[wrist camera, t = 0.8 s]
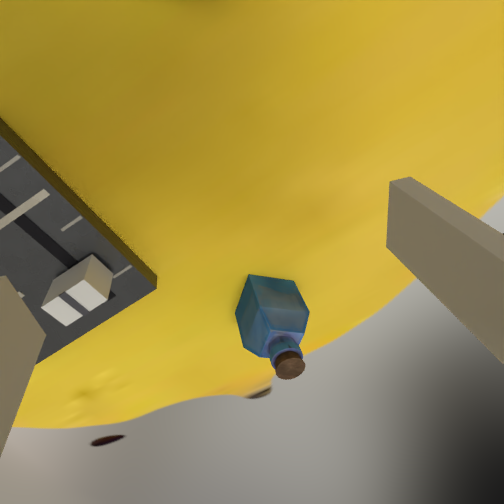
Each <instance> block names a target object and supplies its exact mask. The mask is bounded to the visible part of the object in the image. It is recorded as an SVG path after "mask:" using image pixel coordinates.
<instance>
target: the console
mask: <svg viewBox="0 0 504 504" xmlns="http://www.w3.org/2000/svg"><path fill="white" fill-rule="evenodd" d="M92 254H93V255H94V256H95V257H96V258H97V259H98V260H99V261H100V262H101V263H102V264H103V265H104V266H106V267H107V268H108V269H109V270H110V271H111V272H112V273H113V277H112V282H111V287H110V292H109V296H108V300H107V301H105V302H104V303H102V304H101V305H99V306H97V307H96V308H94V309H93V310H91V311H90V313H89V314H87V315H86V316H82V317H80V318H79V319H77V320H75V321H74V322H72V323H71V324H69V325H68V326H65V325H63V324H62V323H61V322H59V321H58V320H57V319H55V318H54V317H53V316H51V315H50V314H49V313H47V312H46V311H45V310H43V309H42V308H41V306H42V304H43V301H44V299H45V297H46V295H47V293H48V290H49V288H50V286H51V284H52V281H53V280H54V279H55V278H57V277H58V276H60V275H61V274H63V273H64V272H66V271H67V270H69V269H70V268H72V267H73V266H75V265H76V264H78V263H79V262H81V261H83V260H84V259H86V258H87V257H89V256H90V255H92ZM5 275H6V277H7V278H8V280H9V281H10V283H11V284H12V285H13V287H14V288H15V290H16V291H17V293H18V294H19V296H20V297H21V299H22V300H23V302H24V303H25V305H26V306H27V307H28V309H29V310H30V312H31V313H32V315H33V316H34V318H35V319H36V321H37V322H38V324H39V325H40V326H41V328H42V329H43V331H44V332H45V334H46V337H45V340H44V342H43V345H42V348H41V350H40V353H39V356H38V358H37V361H36V364H38V363H39V362H41V361H42V360H44V359H46V358H47V357H49V356H50V355H52V354H53V353H55V352H57V351H58V350H60V349H61V348H63V347H65V346H66V345H68V344H69V343H71V342H73V341H74V340H76V339H77V338H79V337H81V336H82V335H84V334H85V333H87V332H88V331H90V330H92V329H93V328H95V327H96V326H98V325H100V324H101V323H103V322H104V321H106V320H108V319H109V318H111V317H112V316H114V315H115V314H117V313H119V312H120V311H122V310H123V309H125V308H127V307H128V306H130V305H131V304H133V303H135V302H136V301H138V300H139V299H141V298H143V297H144V296H146V295H147V294H149V293H150V292H152V291H154V290H155V289H157V276H156V275H155V274H154V273H153V272H152V271H151V270H150V269H149V268H148V267H147V266H146V265H145V264H144V263H143V262H142V261H141V260H140V259H139V258H138V257H137V256H136V255H135V254H134V253H133V252H132V251H131V250H130V249H129V248H128V247H127V246H126V245H125V243H124V242H123V241H122V240H121V239H120V238H119V237H118V236H117V235H116V234H115V233H114V232H113V231H112V230H111V229H110V228H109V227H108V226H107V225H106V224H105V223H104V222H103V221H102V220H101V219H100V218H99V217H98V216H97V215H96V214H95V213H94V212H93V211H92V210H91V209H90V208H89V207H88V206H87V205H86V204H85V203H84V202H83V201H82V200H81V199H80V198H79V197H78V196H77V195H76V194H75V193H74V192H73V191H72V190H71V189H70V188H69V187H68V186H67V185H66V184H65V183H64V182H63V181H62V180H61V179H60V178H59V177H58V176H57V175H56V174H55V173H54V172H53V171H52V170H51V169H50V168H49V167H48V166H47V165H46V164H45V163H44V162H43V161H42V160H41V159H40V158H39V157H38V156H37V155H36V154H35V153H34V152H33V151H32V150H31V148H30V147H29V146H28V145H27V144H26V143H25V142H24V141H23V140H22V139H21V138H20V137H19V136H18V135H17V134H16V133H15V132H14V131H13V130H12V129H11V128H10V127H9V126H8V125H7V124H6V123H5V122H4V121H3V120H2V119H1V118H0V276H5ZM36 364H35V365H36Z"/></svg>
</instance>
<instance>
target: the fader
mask: <svg viewBox="0 0 504 504" xmlns="http://www.w3.org/2000/svg"><path fill="white" fill-rule="evenodd" d="M112 277H113V273H112V272H111V271H110V270H109V269H108V268H107V267H106V266H104V265H103V264H102V263H101V262H100V261H99V260H98V259H97V258H96V257H95V256H94V255H93V254H92V255H90V256H89V257H87V258H86V259H84V260H83V261H81V262H79V263H78V264H76V265H75V266H73V267H72V268H70V269H69V270H67V271H66V272H64V273H63V274H61V275H60V276H58V277H57V278H55V279H54V280H53V281H52V284H51V286H50V288H49V290H48V293H47V295H46V297H45V299H44V301H43V304H42V306H41V308H42V309H43V310H45V311H46V312H47V313H49V314H50V315H51V316H53V317H54V318H55V319H57V320H58V321H59V322H61V323H62V324H63V325H65V326H68V325H69V324H71V323H72V322H74V321H75V320H77V319H79V318H80V317H82V316H86V315H87V314H89V313H90V311H91V310H93V309H94V308H96V307H97V306H99V305H101V304H102V303H104V302H105V301H107V300H108V296H109V292H110V287H111V282H112Z"/></svg>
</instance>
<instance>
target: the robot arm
mask: <svg viewBox="0 0 504 504" xmlns="http://www.w3.org/2000/svg"><path fill="white" fill-rule="evenodd" d="M386 247H387V248H388V249H389V250H390V251H391V252H392V253H393V254H394V255H395V256H396V257H397V258H398V259H399V260H400V261H401V262H402V263H403V264H404V265H405V266H406V267H407V268H408V269H409V270H410V271H411V272H412V273H413V274H414V275H415V276H416V277H417V278H418V279H419V280H420V281H421V282H422V283H423V284H424V285H425V286H426V287H427V288H428V289H429V290H430V291H431V292H432V293H433V294H434V295H435V296H436V297H437V298H438V299H439V300H440V301H441V302H442V303H443V304H444V305H445V306H446V307H447V308H448V309H449V310H450V311H451V312H452V313H453V314H454V315H455V316H456V317H457V318H458V319H459V320H460V321H461V322H462V323H463V324H464V325H465V326H466V327H467V328H468V329H469V330H470V331H471V332H472V333H473V334H474V335H475V336H476V337H477V338H478V339H479V340H480V341H481V342H482V343H483V344H484V345H485V346H486V347H487V348H488V349H489V350H490V351H491V352H492V353H493V354H494V355H495V356H496V357H497V358H498V359H499V360H500V361H501V362H502V363H503V364H504V233H503V234H502V233H500V232H498V231H497V230H495V229H494V228H492V227H490V226H489V225H487V224H486V223H484V222H482V221H481V220H479V219H478V218H476V217H474V216H473V215H471V214H469V213H468V212H466V211H465V210H463V209H461V208H460V207H458V206H457V205H455V204H453V203H452V202H450V201H449V200H447V199H445V198H444V197H442V196H441V195H439V194H437V193H436V192H434V191H432V190H431V189H429V188H428V187H426V186H424V185H423V184H421V183H420V182H418V181H416V180H415V179H413V178H412V177H406V178H402V179H398V180H394V181H390V185H389V204H388V222H387V241H386ZM45 337H46V334H45V332H44V331H43V329H42V328H41V326H40V325H39V324H38V322H37V321H36V319H35V318H34V316H33V315H32V313H31V312H30V310H29V309H28V307H27V306H26V305H25V303H24V302H23V300H22V299H21V297H20V296H19V294H18V293H17V291H16V290H15V288H14V287H13V285H12V284H11V283H10V281H9V280H8V278H7V277H6V275H5V276H0V457H1V454H2V451H3V449H4V446H5V443H6V440H7V438H8V435H9V433H10V430H11V427H12V425H13V422H14V419H15V417H16V414H17V411H18V409H19V406H20V403H21V401H22V398H23V396H24V393H25V390H26V388H27V385H28V382H29V380H30V377H31V374H32V372H33V369H34V366H35V364H36V361H37V358H38V356H39V353H40V350H41V348H42V345H43V342H44V340H45Z"/></svg>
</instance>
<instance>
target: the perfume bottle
mask: <svg viewBox="0 0 504 504" xmlns="http://www.w3.org/2000/svg"><path fill="white" fill-rule="evenodd" d="M235 315H236V319H237V323H238V327H239V331H240V335H241V339H242V343H243V347H244V348H245V349H247V350H249V351H250V352H252V353H254V354H255V355H257V356H258V357H264V358H270V361H271V364H272V367H273V368H274V369H276V375H277V376H278V377H279V378H281V379H285V380H287V379H292V378H295V377H297V376H299V375H300V374H301V373H302V372H303V371H304V369H305V363H304V362H303V360H302V359H303V354H302V351H301V349H300V347H299V344H300V342H301V340H302V338H303V336H304V333H305V329H306V325H307V321H308V317H309V310H308V308H307V306H306V304H305V302H304V300H303V298H302V296H301V294H300V292H299V290H298V288H297V286H296V284H295V282H294V281H291V280H284V279H277V278H270V277H263V276H256V275H250V274H249V275H248V278H247V280H246V283H245V286H244V289H243V292H242V295H241V297H240V300H239V303H238V306H237V309H236V312H235Z"/></svg>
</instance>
